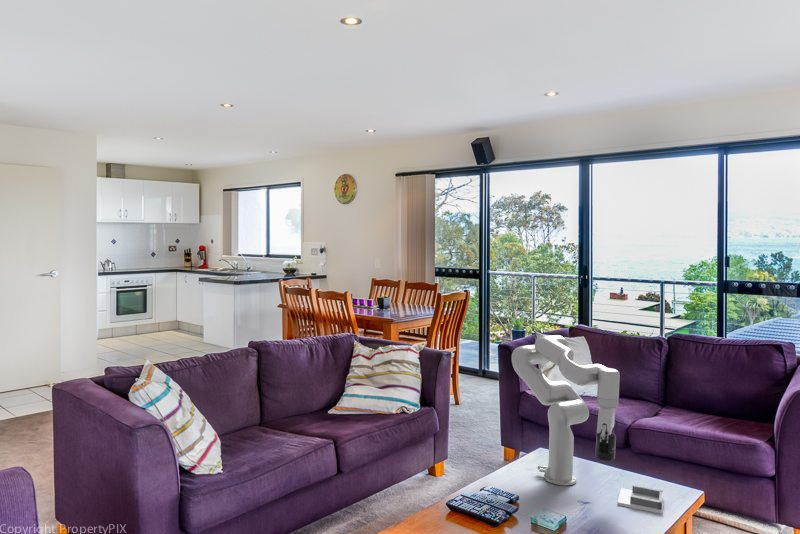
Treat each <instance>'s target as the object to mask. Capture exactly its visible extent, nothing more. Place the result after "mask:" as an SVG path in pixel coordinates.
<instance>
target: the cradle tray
mask: <svg viewBox="0 0 800 534" xmlns="http://www.w3.org/2000/svg"><path fill="white" fill-rule="evenodd" d="M631 488H632V489H629V488H628V489H627V488H624V487H620V491H619V495H618V498H617V506H621V507H625V508H626V507H627V508H631V509H635V510H640V511H645V512H651V513H655V514H661V515H663V509H664V508H663V507H664V506H663V505H664V494H663V491H664V490H662V489H656V488H655V489H654V488H652V487H651V488H649V487H645V486H639V485H633V484H632V486H631Z"/></svg>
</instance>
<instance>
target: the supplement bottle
mask: <svg viewBox="0 0 800 534" xmlns="http://www.w3.org/2000/svg"><path fill="white" fill-rule="evenodd" d="M614 428H615V426H614V427H613V430H612V433H611V435H609V440H608V443H609V453H608V454H606V453H600V452H599V445H600V436H601V432H600V433H599V434H598V433H597V432H596V438H595V440H596V441H595V457H596V459H598V460H600V461H603V462H604V461H606V462H612V461H614V460H615V458H616V445H617V444H616V443H617V441H616V440H617V437H616V434H615V433H614V432H615V431H614ZM606 434H608V433H606ZM605 437H606V439H607V436H605Z"/></svg>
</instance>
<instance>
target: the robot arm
mask: <svg viewBox="0 0 800 534" xmlns="http://www.w3.org/2000/svg"><path fill="white" fill-rule="evenodd" d="M574 355H575V354H574V351H573V350H572V348H570V347H569V343H568V340H567V339H566V338H565V337H563V335H559V334H555V335H542V336H539V338H537V339H536V340H535V341H534V344H527V345H521V346H520V345H519V346H518V347H516V348H514V350H513V351H512V353H511V364H512V367H513V369H514V371H515V373H516V374H517V376H519V378H520V379H521V380H522V381H523V382H524V383H525V384H526V385H527V387H528V388H529V390H530V391H531V392H532V393H533V395H534V396H535V398H536V399H537V400H538V401H539V402H540V403H541V405H544V406H549V408H547V421H548V426H549V427H548V428H549V431H548V432H549V434H548V435H549V439H548V442H549V443H548V465H541V464H538V465H537V470H539V471H538V472H540V473H544V474H543V479H544V480H545V481H547V482H548V483H550V484H552V485H557V486H563V487H564V486H566V487H567V486H573V485H575V484H576V483H577V477H576V476H575V475H574V474H573V473H574V472H573V467H574V446H575V445H574V443H575V441H574V439H575V438H574V433H573V431H572V428H571V426H573V425H578V424H582V423H584V422H586V421H587V420H588V418H589V417H590V410H589V407H588V405H587V403H586V401H584V399H582V396H580V394H579V393H578V392H577V391H576V390H575V389H574V387H573V386H572V385H571V384H570V383H568V382H567V381H564V380H561V379H560V380H550V379H549V378H548V377H547V376H546V374H544V372H543V371H541V370H540V369H539V368H537V367H536V366H534V365H542V364H545V363H549V362H551V363H553V364H554V365H556V366H557V367H558V370H559V373H560V374H561V375H562V376H563V377H564V378H565V379H566V380H568V381H569V382H571V383H573V384H575V385H577V386H581V387H584V386H591V385H597V390H596V391H597V392H596V406H597V407H598V413H597V423H596V425H597V426H596V434H597V433H598V434H599V433H600V432H601V436H600V445H599V452H600V453H606V454H608V453H609V443H608V440H609V435H611V433H612V430H613V427H614V428H615V420H616V419H615V417H616V409H618V408H619V403H620V402H619V397H620V382H621V381H620V380H621V377H620V375H621V374H620V371H619V370H618V369H616V368H612V367H607V366H605V365H604V364H603V365H602V364H600V363H592V364H582V365H579V364H577V363H576V362H574V361H573V360H574ZM606 433H608V434H606ZM605 436H607V439H606V437H605Z"/></svg>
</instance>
